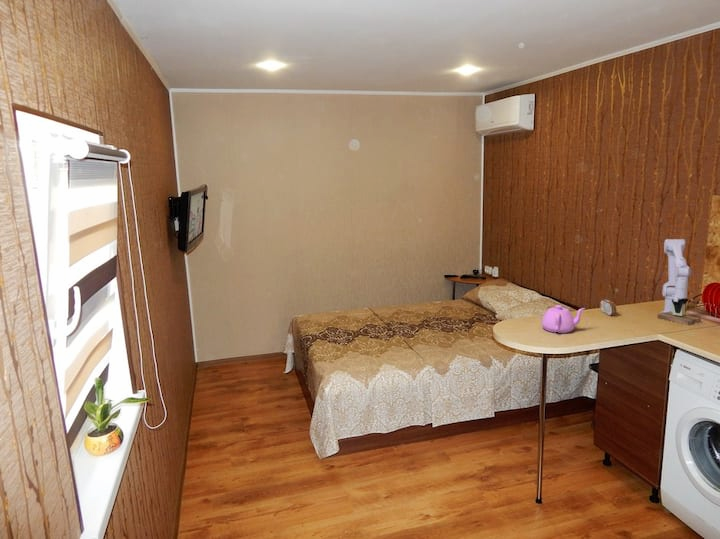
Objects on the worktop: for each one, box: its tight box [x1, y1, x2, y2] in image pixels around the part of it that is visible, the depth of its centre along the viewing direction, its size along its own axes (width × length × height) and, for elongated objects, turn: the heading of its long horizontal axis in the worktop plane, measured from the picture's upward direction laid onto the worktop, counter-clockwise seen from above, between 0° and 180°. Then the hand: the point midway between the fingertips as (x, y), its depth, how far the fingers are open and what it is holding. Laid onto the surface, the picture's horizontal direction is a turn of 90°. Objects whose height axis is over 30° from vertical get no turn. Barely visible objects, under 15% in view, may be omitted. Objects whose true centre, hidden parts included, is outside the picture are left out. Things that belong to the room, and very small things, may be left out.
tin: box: [600, 298, 617, 317], centre depth 286 cm, size 15×3×8 cm, turn 179°
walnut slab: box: [657, 311, 701, 326], centre depth 268 cm, size 11×17×3 cm, turn 24°
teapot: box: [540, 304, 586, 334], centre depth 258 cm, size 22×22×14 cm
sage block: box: [673, 304, 686, 316], centre depth 268 cm, size 4×4×6 cm
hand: (679, 311), depth 268 cm, fingers closed on sage block, 4 cm apart
